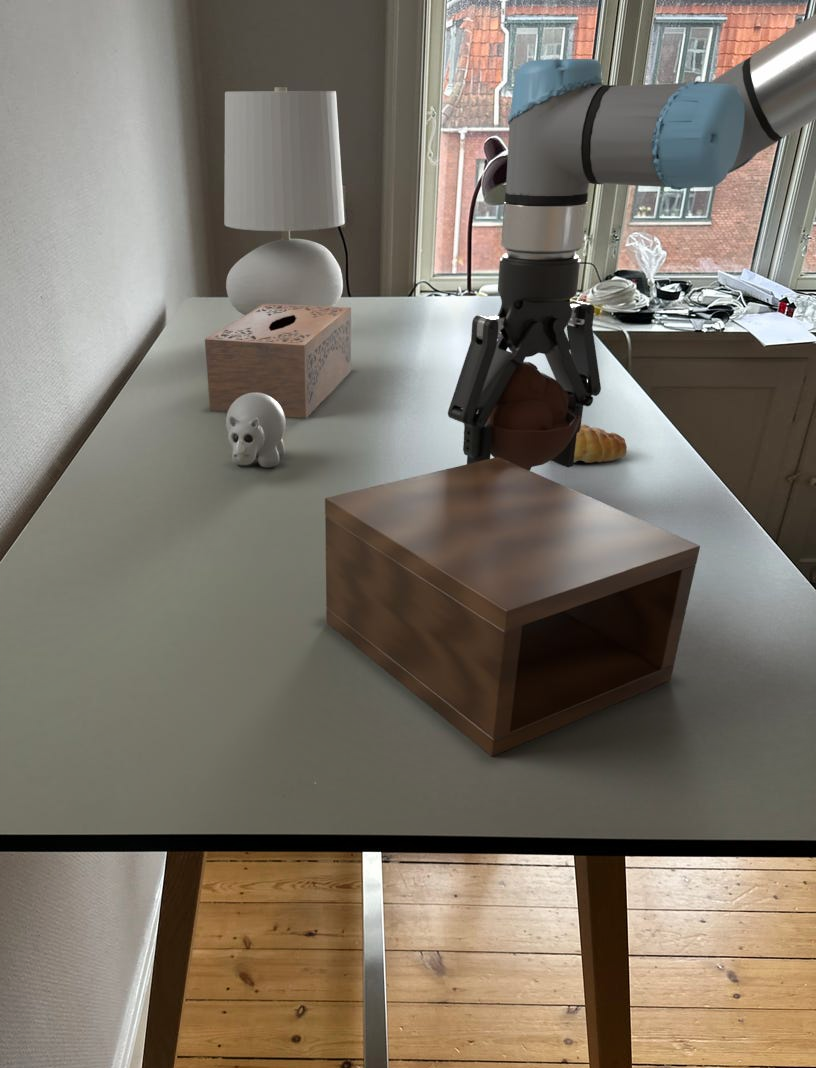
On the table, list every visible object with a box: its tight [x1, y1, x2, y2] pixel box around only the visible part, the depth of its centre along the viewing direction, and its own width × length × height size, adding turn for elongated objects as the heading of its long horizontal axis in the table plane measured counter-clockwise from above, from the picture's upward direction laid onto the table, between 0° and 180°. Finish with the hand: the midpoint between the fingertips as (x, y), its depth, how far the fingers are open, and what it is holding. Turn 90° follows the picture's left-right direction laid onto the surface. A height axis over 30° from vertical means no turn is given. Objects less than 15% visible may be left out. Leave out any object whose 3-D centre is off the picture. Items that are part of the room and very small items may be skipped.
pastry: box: [573, 424, 628, 463], centre depth 114 cm, size 9×7×4 cm
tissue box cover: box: [204, 304, 352, 419], centre depth 138 cm, size 26×14×10 cm, turn 165°
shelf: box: [324, 457, 701, 757], centre depth 72 cm, size 22×18×12 cm
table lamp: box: [223, 86, 346, 316], centre depth 164 cm, size 23×22×40 cm
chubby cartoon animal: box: [225, 393, 287, 469], centre depth 109 cm, size 7×12×8 cm, turn 169°
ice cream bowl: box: [477, 360, 582, 471], centre depth 95 cm, size 11×11×15 cm
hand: (520, 474), depth 98 cm, fingers closed on ice cream bowl, 11 cm apart
